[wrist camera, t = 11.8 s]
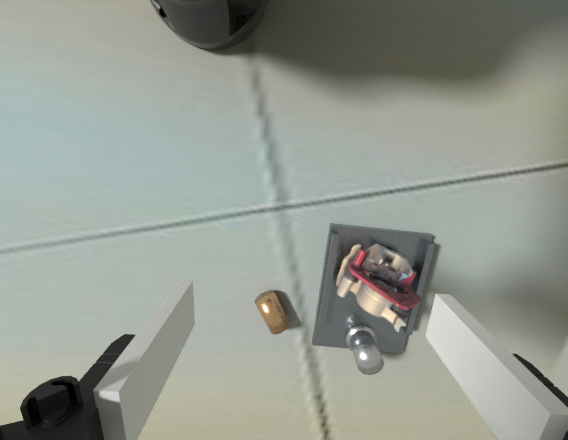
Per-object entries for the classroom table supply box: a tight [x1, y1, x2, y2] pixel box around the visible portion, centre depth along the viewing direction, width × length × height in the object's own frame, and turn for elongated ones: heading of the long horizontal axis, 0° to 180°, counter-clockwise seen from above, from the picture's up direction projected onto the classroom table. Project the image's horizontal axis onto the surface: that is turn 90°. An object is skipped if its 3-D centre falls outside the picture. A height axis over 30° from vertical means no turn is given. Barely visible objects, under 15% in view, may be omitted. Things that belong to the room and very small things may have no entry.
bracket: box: [312, 223, 435, 375], centre depth 42 cm, size 22×16×7 cm
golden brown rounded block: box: [255, 291, 290, 334], centre depth 45 cm, size 6×4×4 cm, turn 24°
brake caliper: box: [335, 244, 421, 332], centre depth 40 cm, size 11×11×12 cm
